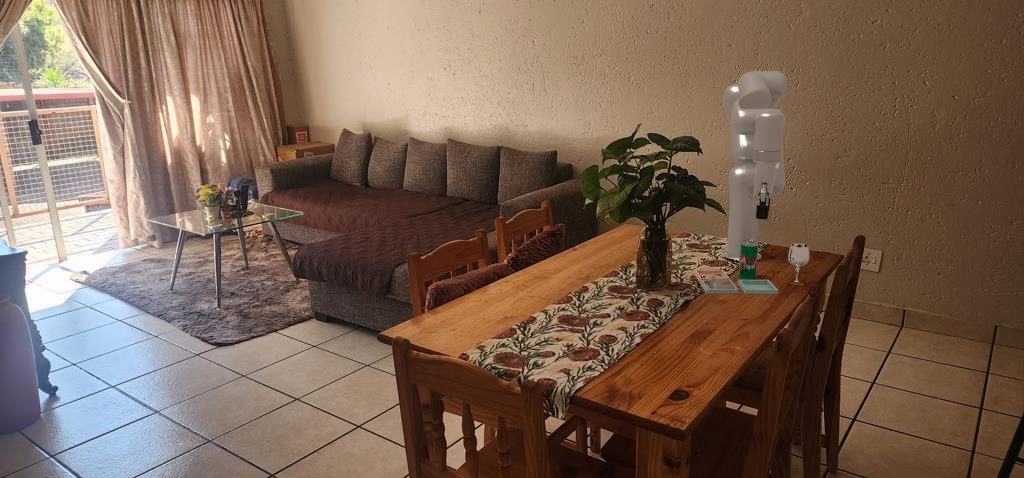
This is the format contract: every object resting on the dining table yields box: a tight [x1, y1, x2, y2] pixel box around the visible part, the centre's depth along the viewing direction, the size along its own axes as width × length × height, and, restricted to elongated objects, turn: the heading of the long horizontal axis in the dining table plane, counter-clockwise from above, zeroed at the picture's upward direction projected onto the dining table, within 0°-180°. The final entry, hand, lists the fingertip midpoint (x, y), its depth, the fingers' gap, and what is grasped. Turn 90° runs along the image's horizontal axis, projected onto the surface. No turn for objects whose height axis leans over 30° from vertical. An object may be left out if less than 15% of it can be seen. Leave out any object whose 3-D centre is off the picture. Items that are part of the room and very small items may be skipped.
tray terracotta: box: [693, 269, 731, 284], centre depth 203 cm, size 9×9×2 cm
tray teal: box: [737, 279, 779, 295], centre depth 192 cm, size 9×9×2 cm
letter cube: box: [709, 273, 730, 289], centre depth 193 cm, size 4×4×4 cm
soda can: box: [738, 240, 759, 280], centre depth 202 cm, size 5×5×12 cm
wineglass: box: [787, 242, 810, 282], centre depth 196 cm, size 6×6×12 cm
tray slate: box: [699, 279, 739, 295], centre depth 193 cm, size 9×9×2 cm
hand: (762, 215), depth 191 cm, fingers open, 9 cm apart
